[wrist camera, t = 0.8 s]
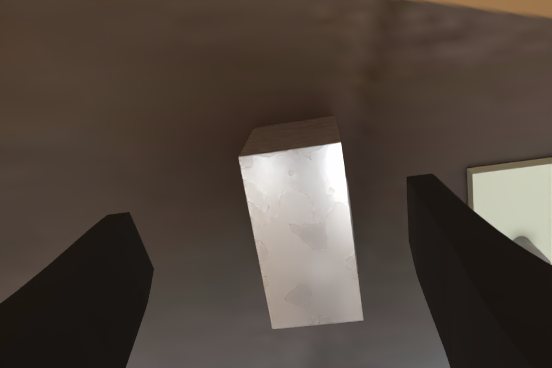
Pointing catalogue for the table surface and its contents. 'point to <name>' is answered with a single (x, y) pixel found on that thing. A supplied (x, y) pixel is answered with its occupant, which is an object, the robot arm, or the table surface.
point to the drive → (302, 222)
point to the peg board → (516, 201)
